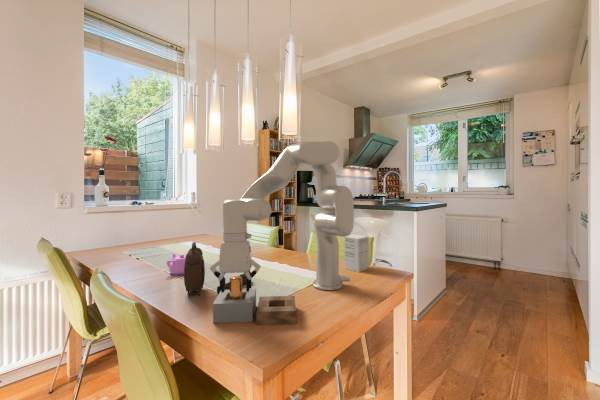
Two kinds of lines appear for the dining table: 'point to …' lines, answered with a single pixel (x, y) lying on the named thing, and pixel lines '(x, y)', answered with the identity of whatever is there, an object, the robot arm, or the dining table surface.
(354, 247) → the supplement box
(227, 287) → the hand tool
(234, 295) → the pin
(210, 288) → the dining table surface
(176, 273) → the teapot
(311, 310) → the dining table surface
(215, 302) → the socket block
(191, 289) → the alarm clock
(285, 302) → the mount block
